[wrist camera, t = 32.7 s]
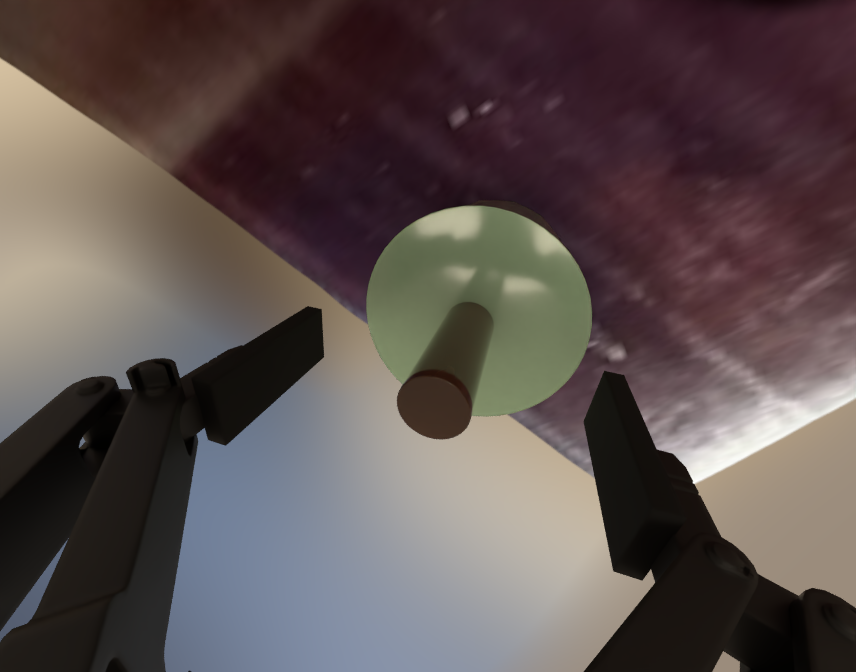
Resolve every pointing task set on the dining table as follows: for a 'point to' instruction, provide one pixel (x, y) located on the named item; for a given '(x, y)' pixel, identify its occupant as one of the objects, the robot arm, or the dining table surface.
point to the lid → (476, 316)
